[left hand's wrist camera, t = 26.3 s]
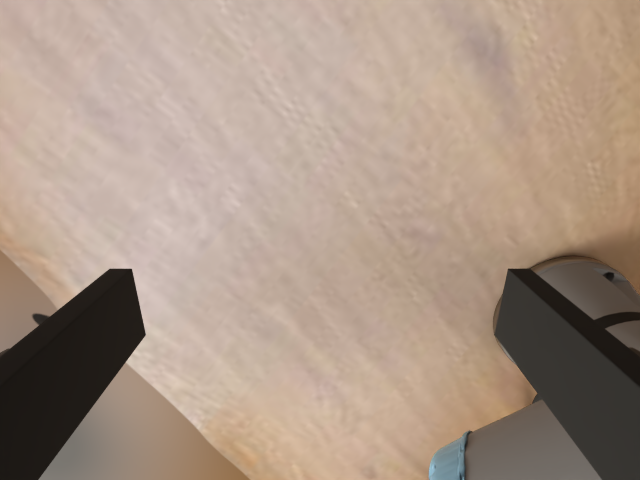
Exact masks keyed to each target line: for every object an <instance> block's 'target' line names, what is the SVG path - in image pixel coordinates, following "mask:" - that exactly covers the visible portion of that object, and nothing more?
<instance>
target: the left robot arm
mask: <svg viewBox="0 0 640 480" xmlns="http://www.w3.org/2000/svg"><path fill="white" fill-rule="evenodd" d="M493 329H494V335H495V338H496V340H497V342H498V344H499V346H500V347H501V348H502V350H503V351H504V352H505V354H506V355H507V356H508V358H509V359H510V360H511V361H512V362H513V363H515V364H516V365H517V366H518V368H519V369H520V370H521V372H522V373H523V374H524V376H525V377H526V378H527V380H528V381H529V382H530V384H531V385H532V386H533V388H534V389H535V390H536V392H537V393H538V394H537V395H536V396H535V398H534V400H533V403H532V404H531V405H529V406H527V407H525V408H523V409H521V410H519V411H517V412H515V413H513V414H511V415H508V416H506V417H504V418H502V419H500V420H497V421H495V422H493V423H491V424H489V425H487V426H484V427H482V428H480V429H478V430H476V431H474V432H472V431H467V432H465V433H464V434H463V436H462V437H461V438H459V439H457V440H455V441H454V442H452V443H450V444H448V445H446V446H444V447H443V448H441V449H439V450H438V451H437V452H436V453H435V454H434V456H433V458H432V460H431V463H430V468H429V480H640V296H639V294H638V293H637V292H636V290H635V289H634V288H633V286H632V285H631V284H630V283H629V281H628V280H627V279H626V278H625V277H624V276H623V275H622V274H620V273H619V272H618V271H616V270H614V269H613V268H611V267H609V266H608V265H606V264H604V263H602V262H600V261H598V260H595V259H592V258H588V257H581V256H568V257H560V258H555V259H551V260H548V261H545V262H543V263H540V264H538V265H536V266H534V267H532V268H530V269H508V272H507V277H506V282H505V286H504V291H503V295H502V296H501V298H500V300H499V302H498V304H497V306H496V309H495V313H494V318H493ZM145 335H146V334H145V329H144V324H143V319H142V315H141V310H140V305H139V301H138V296H137V291H136V286H135V282H134V277H133V272H132V269H109V270H108V271H106V272H105V273H104V274H103V275H101V276H100V277H99V278H98V279H96V280H95V281H94V282H93V283H91V284H90V285H89V286H88V287H87V288H85V289H84V290H83V291H82V292H80V293H79V294H78V295H77V296H75V297H74V298H73V299H72V300H70V301H69V302H68V303H67V304H65V305H64V306H63V307H62V308H60V309H59V310H58V311H57V312H55V313H54V314H53V315H52V316H50V317H49V318H48V319H47V320H45V321H44V322H43V323H42V324H40V325H39V326H38V327H37V328H35V329H34V330H33V331H32V332H30V333H29V334H28V335H27V336H25V337H24V338H23V339H22V340H20V341H19V342H18V343H17V344H15V345H14V346H13V347H12V348H10V349H6V350H5V351H3V352H1V353H0V480H38V479H39V478H40V477H41V475H42V474H43V473H44V471H45V470H46V468H47V467H48V466H49V464H50V463H51V462H52V460H53V459H54V458H55V456H56V455H57V454H58V452H59V451H60V450H61V448H62V447H63V446H64V444H65V443H66V441H67V440H68V439H69V438H70V436H71V435H72V433H73V432H74V431H75V429H76V428H77V427H78V425H79V424H80V423H81V421H82V420H83V419H84V417H85V416H86V415H87V413H88V412H89V411H90V409H91V408H92V407H93V405H94V404H95V403H96V401H97V400H98V398H99V397H100V396H101V394H102V393H103V392H104V390H105V389H106V388H107V386H108V385H109V384H110V382H111V381H112V380H113V378H114V377H115V376H116V374H117V373H118V371H119V370H120V369H121V367H122V366H123V365H124V363H125V362H126V361H127V359H128V358H129V357H130V355H131V354H132V353H133V351H134V350H135V349H136V347H137V346H138V345H139V343H140V342H141V341H142V339H143V338H144V337H145Z"/></svg>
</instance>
